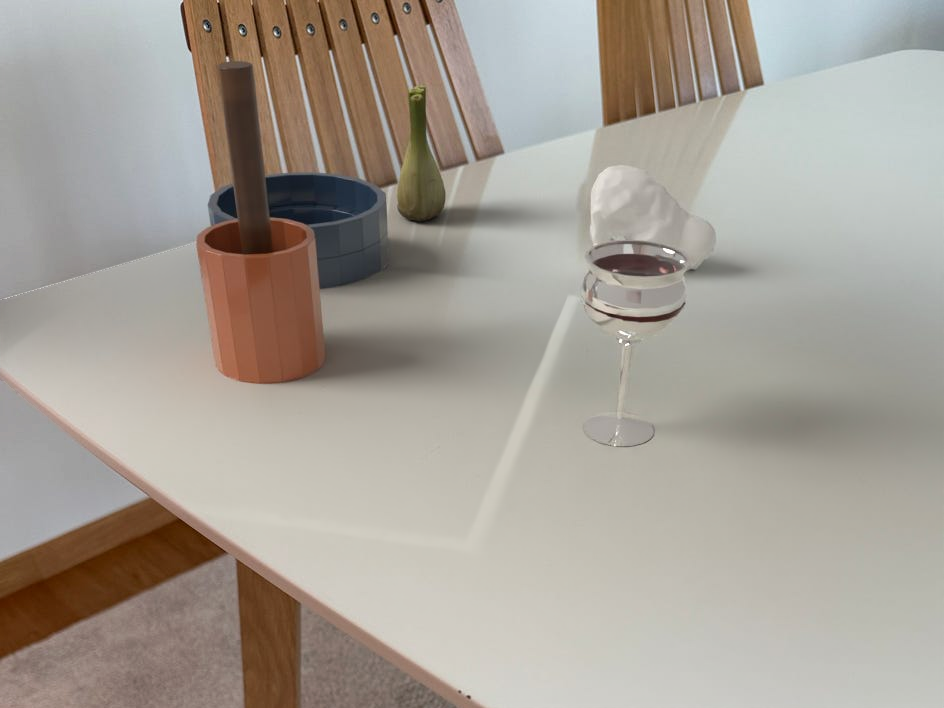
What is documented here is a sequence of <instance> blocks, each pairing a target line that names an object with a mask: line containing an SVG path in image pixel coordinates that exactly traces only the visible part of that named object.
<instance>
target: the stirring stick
mask: <svg viewBox="0 0 944 708" xmlns="http://www.w3.org/2000/svg"><path fill="white" fill-rule="evenodd" d="M217 71H218V79H219V87H220V94H221V101H222V109H223V118H224V124H225V131H226V132H225V133H226V139H227V147H228V154H229V155H228V157H229V162H230V170H231V178H232V183H233V186H234V194H235V202H236V209H237V217H238V225H239V232H240V240H241V247H242V254H244V255H249V254H268V253H273V252H274V251H273V242H272V233H271V224H270V215H269V206H268V197H267V188H266V179H265V175H266V171H265V162H264V153H263V144H262V136H261V128H260V118H259V117H260V116H259V109H258V100H257V91H256V81H255V72H254V65H253V64H252V62H248V61H245V60H244V61H243V60H232V61H231V60H230V61H223V62H221V63H218V64H217Z"/></svg>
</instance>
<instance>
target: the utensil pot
mask: <svg viewBox="0 0 944 708" xmlns="http://www.w3.org/2000/svg"><path fill="white" fill-rule="evenodd" d="M270 224H271V233H272V242H273V251H274V252H273V253H268V254H249V255H244V254H242V247H241V240H240V232H239V225H238V219H236V220H230V221H224V222H221V223H218V224H216V225H213V226H211V225H210V226H207V227H206V228H204V229H203V230H201V231H200V232H199V233H197V235H196V243H195V244H196V251H197V257H198V262H199V269H200V276H201V281H202V289H203V295H204V302H205V307H206V313H207V320H208V325H209V333H210V339H211V344H212V351H213V359H214V364H215V367H216V368H217V370H218V371H219V372H220V373H221V374H222V375H224V376H225V377H227V378H228V379H232V380H234V381H237V382H242V383H248V384H255V385H256V384H260V385H269V384H281V383H287V382H292V381H296V380H299V379H303V378H305V377H307V376H310V375H312V374H314V373H316V371H318V370H320V369H321V367H322V366H323V365H324V363H325V361H326V349H325V347H326V346H325V338H324V335H325V334H324V325H323V315H322V302H321V289H319V277H318V265H317V254H316V242H315V234H314V230H313V229H311V228H310V227H308V226H307V225H305V224H303V223H300V222H297V221H293V220H289V219H282V218H272V217H270Z"/></svg>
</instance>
